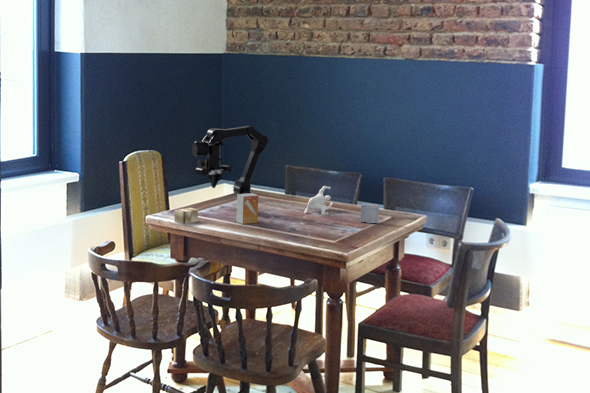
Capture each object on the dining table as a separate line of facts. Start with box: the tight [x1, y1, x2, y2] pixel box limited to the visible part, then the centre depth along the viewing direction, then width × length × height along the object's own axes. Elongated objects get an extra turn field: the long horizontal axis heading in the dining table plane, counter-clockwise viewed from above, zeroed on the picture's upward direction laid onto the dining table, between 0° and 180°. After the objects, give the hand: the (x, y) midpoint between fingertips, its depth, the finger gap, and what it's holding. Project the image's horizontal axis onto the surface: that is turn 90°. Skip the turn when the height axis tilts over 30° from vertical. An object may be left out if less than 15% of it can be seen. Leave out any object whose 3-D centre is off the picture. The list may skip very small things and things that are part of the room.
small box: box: [235, 192, 259, 225], centre depth 303 cm, size 8×6×13 cm
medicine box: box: [359, 203, 380, 224], centre depth 312 cm, size 8×4×9 cm, turn 71°
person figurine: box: [303, 185, 334, 216], centre depth 333 cm, size 13×13×18 cm
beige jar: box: [174, 207, 199, 225], centre depth 300 cm, size 6×6×9 cm
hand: (213, 187), depth 315 cm, fingers closed
